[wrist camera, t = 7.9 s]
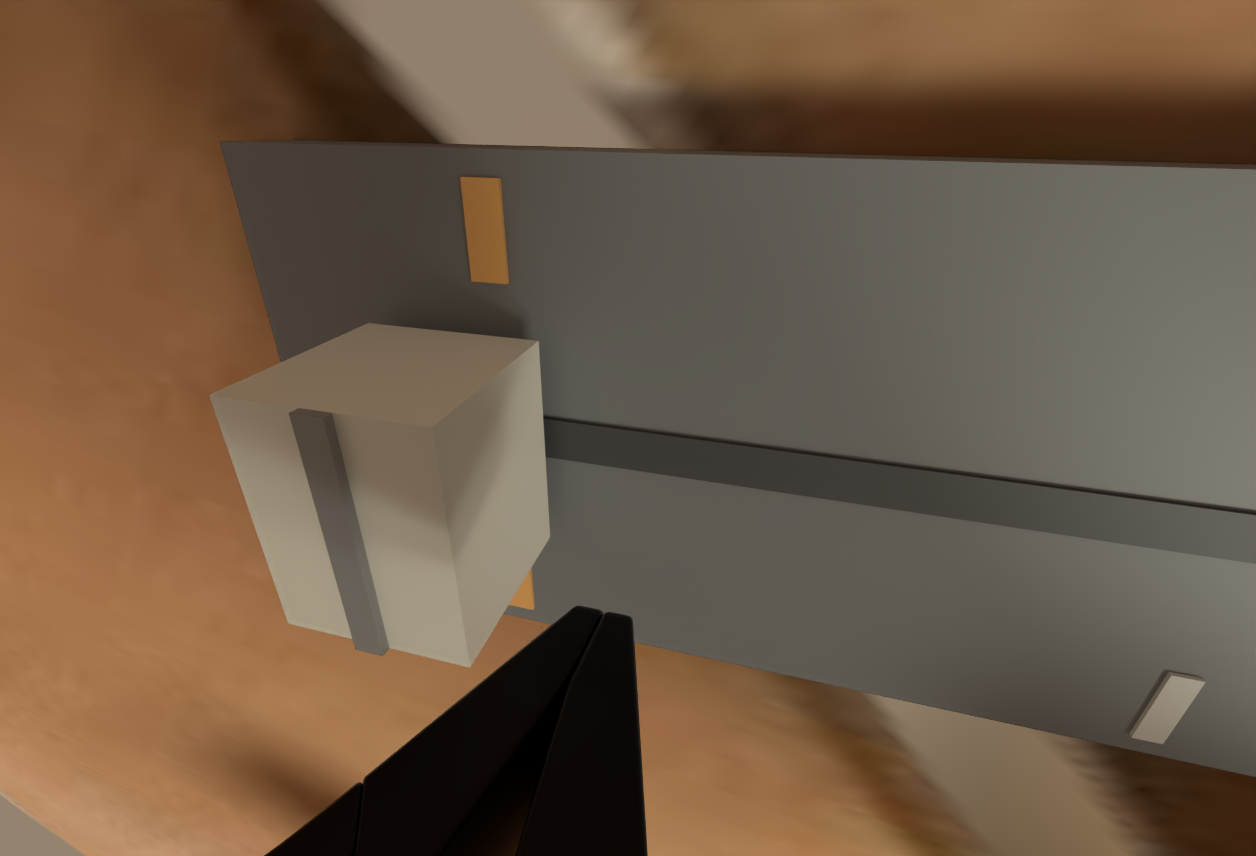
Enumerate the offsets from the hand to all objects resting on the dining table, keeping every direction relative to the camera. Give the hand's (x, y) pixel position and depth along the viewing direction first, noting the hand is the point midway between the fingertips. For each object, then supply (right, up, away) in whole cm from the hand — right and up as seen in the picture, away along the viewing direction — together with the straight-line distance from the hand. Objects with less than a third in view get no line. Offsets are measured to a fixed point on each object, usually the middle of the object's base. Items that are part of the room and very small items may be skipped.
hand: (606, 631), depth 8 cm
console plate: (+5, +3, +6) cm, 8 cm away
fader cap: (-3, +3, +5) cm, 7 cm away
